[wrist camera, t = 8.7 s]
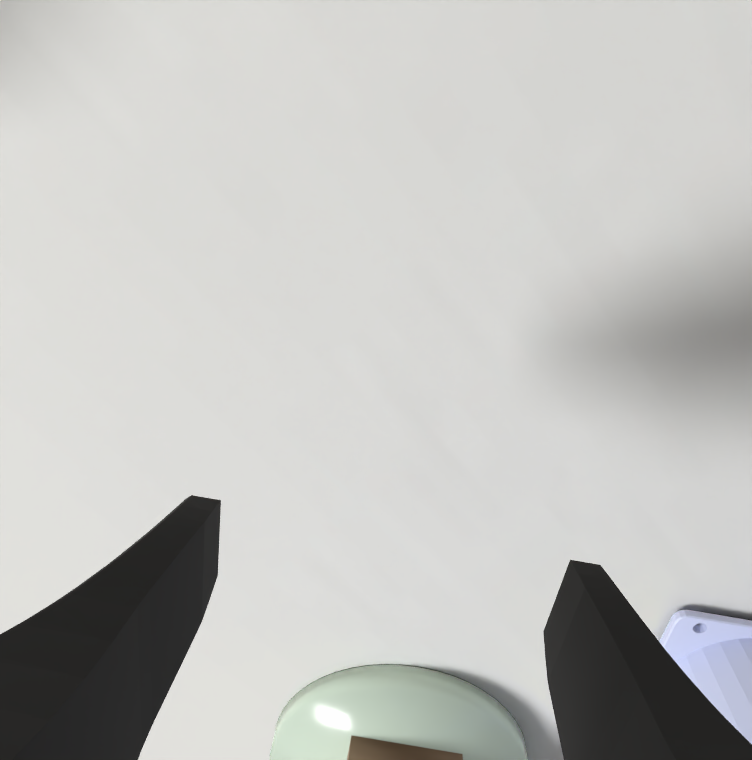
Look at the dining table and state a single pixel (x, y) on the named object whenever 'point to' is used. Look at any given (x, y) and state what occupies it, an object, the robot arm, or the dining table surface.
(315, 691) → the pale green domed disc
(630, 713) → the robot arm
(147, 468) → the dining table surface
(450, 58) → the dining table surface
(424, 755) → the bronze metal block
